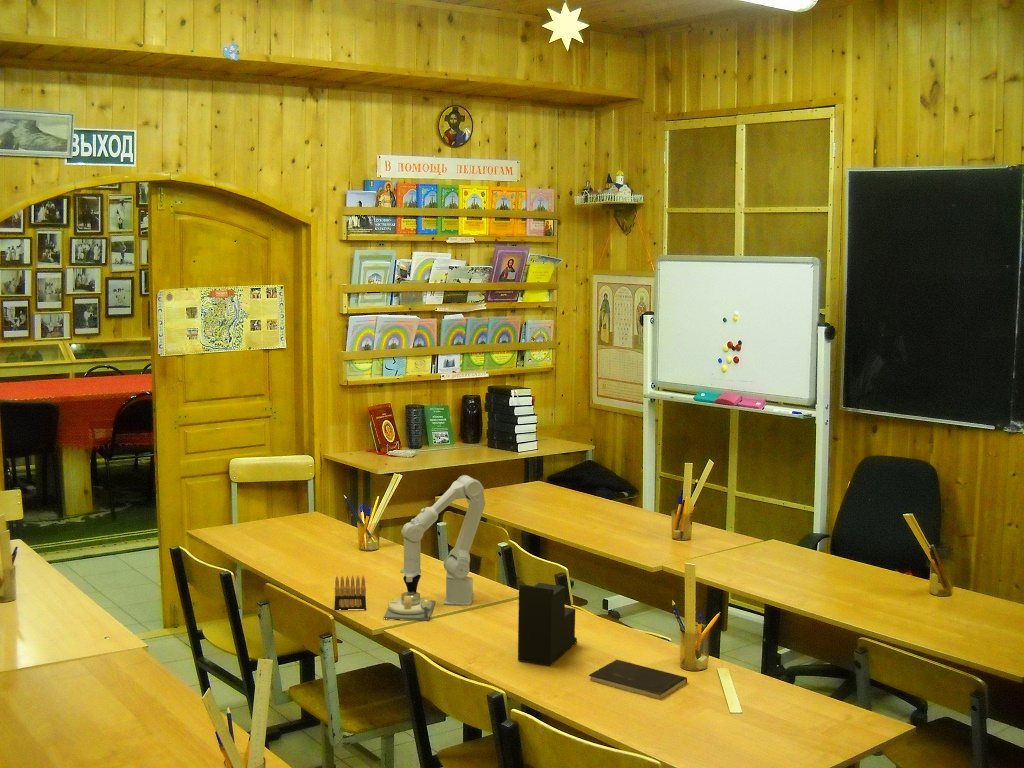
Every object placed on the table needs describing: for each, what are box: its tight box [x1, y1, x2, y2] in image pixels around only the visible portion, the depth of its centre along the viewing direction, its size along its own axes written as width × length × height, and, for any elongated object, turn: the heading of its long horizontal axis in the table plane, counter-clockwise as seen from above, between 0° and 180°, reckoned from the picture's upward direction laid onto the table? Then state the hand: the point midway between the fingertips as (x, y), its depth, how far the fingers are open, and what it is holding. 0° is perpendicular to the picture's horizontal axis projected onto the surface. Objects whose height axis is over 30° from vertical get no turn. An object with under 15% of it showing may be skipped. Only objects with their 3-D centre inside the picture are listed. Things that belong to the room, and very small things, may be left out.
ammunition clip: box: [333, 574, 367, 610], centre depth 378 cm, size 11×2×12 cm, turn 96°
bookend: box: [517, 582, 578, 666], centre depth 340 cm, size 23×11×24 cm, turn 157°
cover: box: [400, 591, 421, 606], centre depth 378 cm, size 6×6×4 cm
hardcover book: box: [588, 659, 688, 700], centre depth 318 cm, size 16×23×2 cm
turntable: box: [388, 596, 432, 614], centre depth 378 cm, size 14×14×6 cm
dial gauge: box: [421, 599, 432, 617], centre depth 369 cm, size 4×1×7 cm, turn 87°
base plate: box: [383, 598, 437, 622], centre depth 378 cm, size 15×19×1 cm
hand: (412, 596), depth 382 cm, fingers closed
